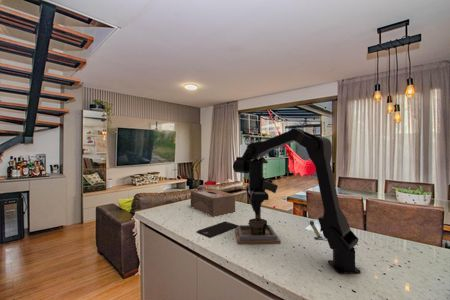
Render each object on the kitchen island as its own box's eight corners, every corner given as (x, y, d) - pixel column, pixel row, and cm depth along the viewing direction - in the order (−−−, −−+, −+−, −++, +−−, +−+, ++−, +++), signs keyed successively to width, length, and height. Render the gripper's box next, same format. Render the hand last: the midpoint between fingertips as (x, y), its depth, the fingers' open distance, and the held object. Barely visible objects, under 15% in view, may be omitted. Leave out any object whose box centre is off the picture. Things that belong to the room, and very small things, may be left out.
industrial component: (270, 233, 89) (270, 204, 89) (262, 239, 83) (262, 207, 83) (250, 228, 95) (250, 200, 95) (241, 233, 89) (241, 204, 89)
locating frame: (277, 240, 83) (277, 236, 83) (240, 240, 82) (240, 236, 82) (269, 228, 95) (269, 225, 95) (237, 228, 94) (237, 225, 94)
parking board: (280, 243, 82) (280, 241, 82) (237, 244, 81) (237, 241, 81) (271, 229, 96) (271, 227, 96) (234, 230, 95) (234, 228, 95)
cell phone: (196, 233, 93) (196, 231, 93) (225, 223, 106) (225, 221, 106) (209, 239, 87) (209, 236, 87) (239, 227, 100) (239, 225, 100)
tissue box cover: (190, 207, 135) (190, 190, 135) (210, 203, 144) (210, 188, 144) (213, 217, 114) (213, 198, 114) (235, 212, 123) (235, 194, 123)
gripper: (282, 177, 79) (282, 220, 79) (270, 171, 98) (270, 206, 98) (251, 177, 79) (251, 220, 79) (245, 172, 98) (245, 207, 98)
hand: (256, 213), depth 89 cm, fingers open, 5 cm apart
